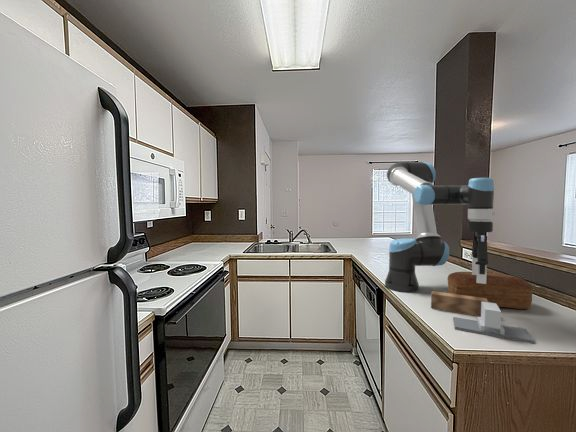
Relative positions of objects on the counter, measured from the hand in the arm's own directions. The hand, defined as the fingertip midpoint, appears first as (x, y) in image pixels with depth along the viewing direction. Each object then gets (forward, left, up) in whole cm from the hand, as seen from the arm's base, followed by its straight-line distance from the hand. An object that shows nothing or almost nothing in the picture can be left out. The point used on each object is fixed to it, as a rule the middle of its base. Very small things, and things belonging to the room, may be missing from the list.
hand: (478, 278), depth 103 cm
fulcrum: (+2, -14, -13) cm, 19 cm away
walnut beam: (-6, 0, -13) cm, 15 cm away
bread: (+5, +16, -14) cm, 22 cm away
